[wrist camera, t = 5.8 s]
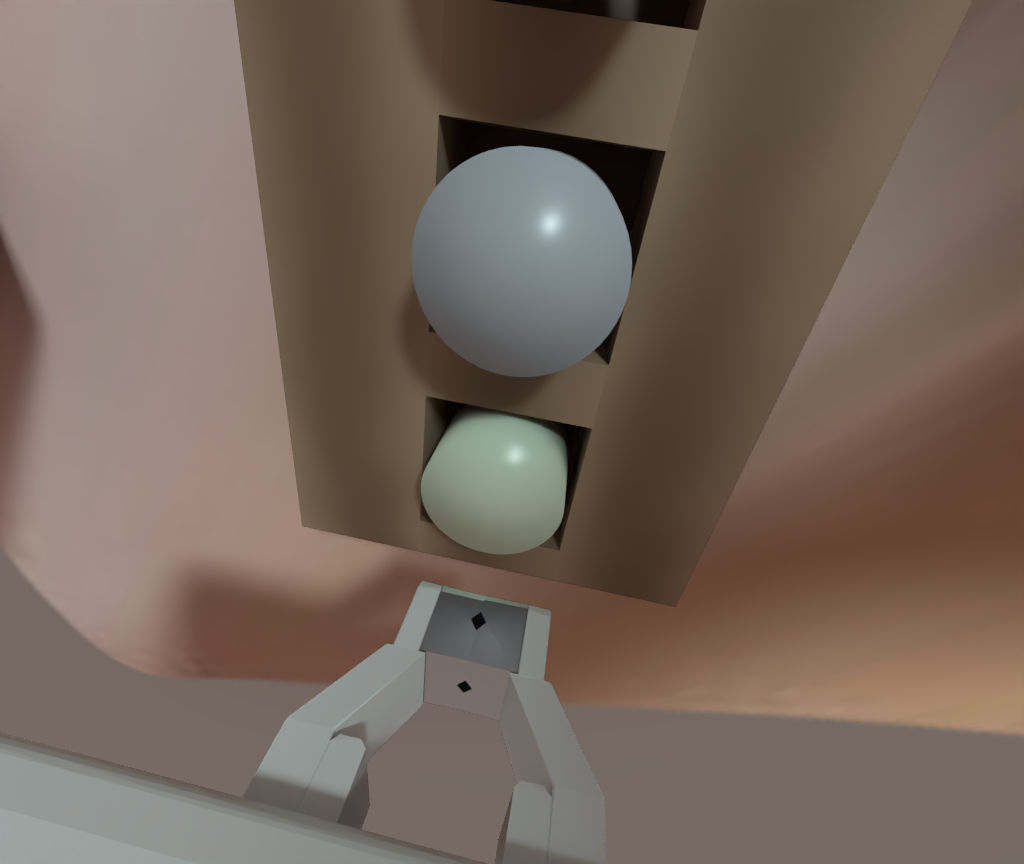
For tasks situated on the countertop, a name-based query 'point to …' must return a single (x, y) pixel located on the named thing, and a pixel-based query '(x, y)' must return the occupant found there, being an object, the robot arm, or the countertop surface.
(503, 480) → the button sage
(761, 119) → the panel
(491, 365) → the button grey
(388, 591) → the countertop surface
